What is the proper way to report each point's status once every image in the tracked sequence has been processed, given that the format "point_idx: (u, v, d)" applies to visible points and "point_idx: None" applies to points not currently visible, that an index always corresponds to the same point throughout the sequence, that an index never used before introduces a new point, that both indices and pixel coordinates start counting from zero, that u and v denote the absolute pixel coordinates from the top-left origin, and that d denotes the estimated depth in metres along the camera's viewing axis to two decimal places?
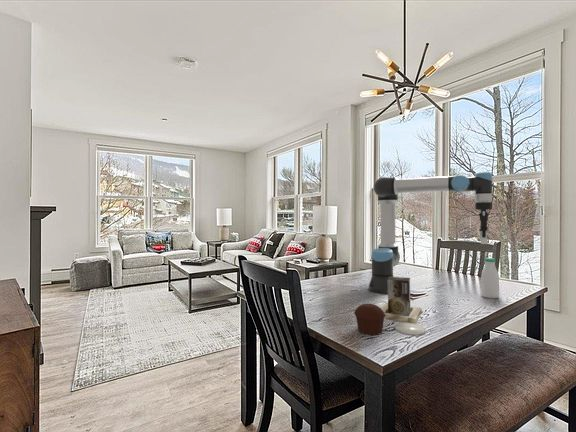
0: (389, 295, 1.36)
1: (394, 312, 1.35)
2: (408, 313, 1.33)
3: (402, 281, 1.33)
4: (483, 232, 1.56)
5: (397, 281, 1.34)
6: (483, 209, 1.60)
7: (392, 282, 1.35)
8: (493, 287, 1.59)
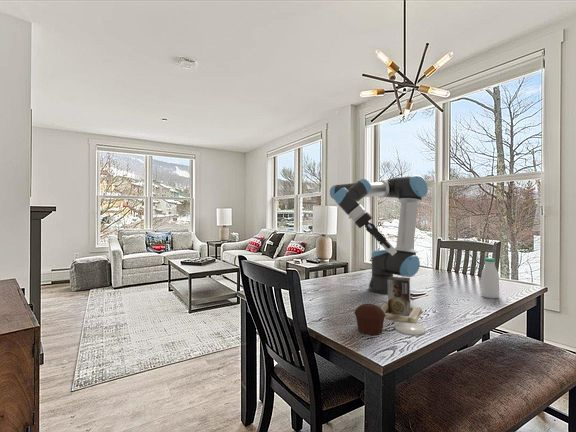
0: (389, 295, 1.36)
1: (394, 312, 1.35)
2: (408, 313, 1.33)
3: (402, 281, 1.33)
4: None
5: (397, 281, 1.34)
6: None
7: (392, 282, 1.35)
8: (493, 287, 1.59)
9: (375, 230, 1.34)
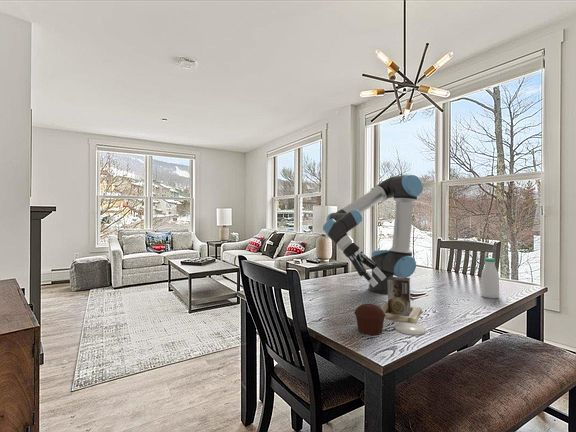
0: (389, 295, 1.36)
1: (394, 312, 1.35)
2: (408, 313, 1.33)
3: (402, 281, 1.33)
4: None
5: (397, 281, 1.34)
6: None
7: (392, 282, 1.35)
8: (493, 287, 1.59)
9: (355, 262, 1.38)
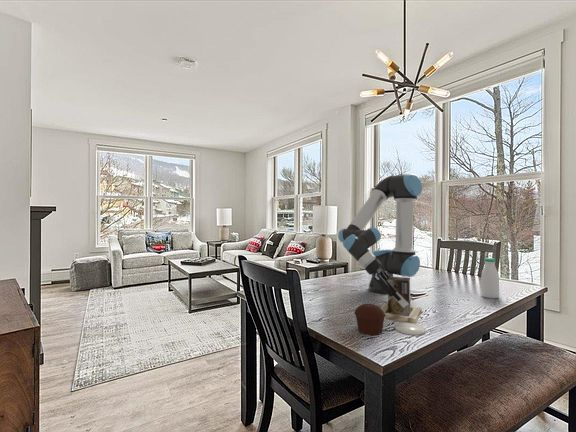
0: None
1: (394, 312, 1.35)
2: (408, 313, 1.32)
3: (402, 281, 1.33)
4: None
5: (397, 281, 1.34)
6: None
7: (392, 282, 1.35)
8: (493, 287, 1.59)
9: (383, 282, 1.34)
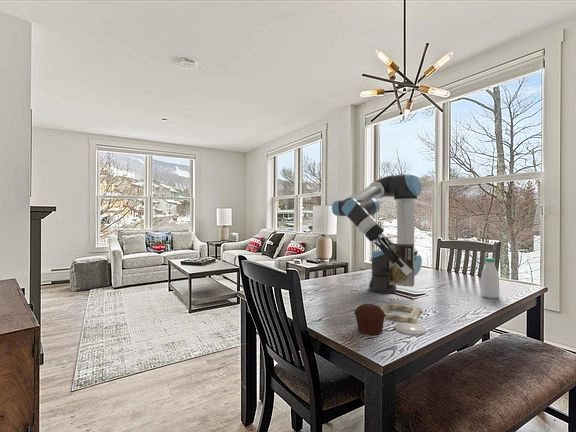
0: None
1: (396, 280, 1.23)
2: (411, 281, 1.20)
3: (405, 246, 1.21)
4: None
5: (400, 246, 1.22)
6: None
7: (394, 247, 1.23)
8: (493, 287, 1.59)
9: (384, 247, 1.22)
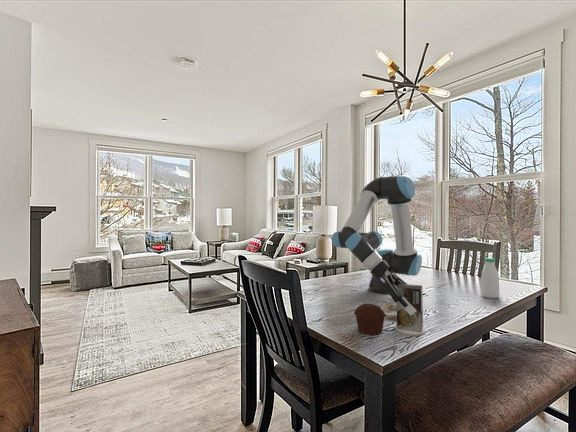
0: (398, 305, 1.19)
1: (403, 324, 1.19)
2: (420, 326, 1.16)
3: (413, 289, 1.17)
4: None
5: (407, 289, 1.18)
6: None
7: (401, 290, 1.19)
8: (493, 287, 1.59)
9: (388, 285, 1.17)
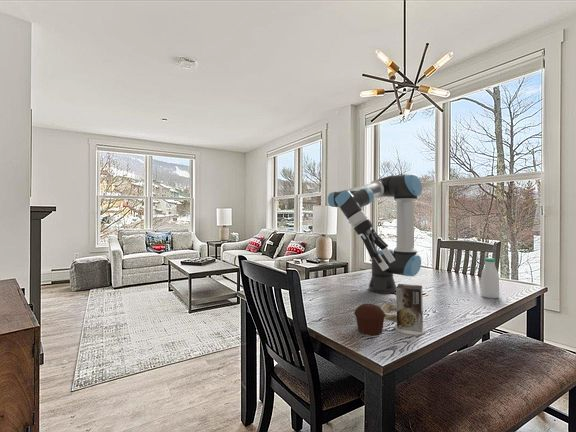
0: (398, 305, 1.19)
1: (403, 324, 1.19)
2: (420, 326, 1.16)
3: (413, 290, 1.17)
4: None
5: (407, 290, 1.18)
6: None
7: (401, 290, 1.18)
8: (493, 287, 1.59)
9: (368, 242, 1.26)
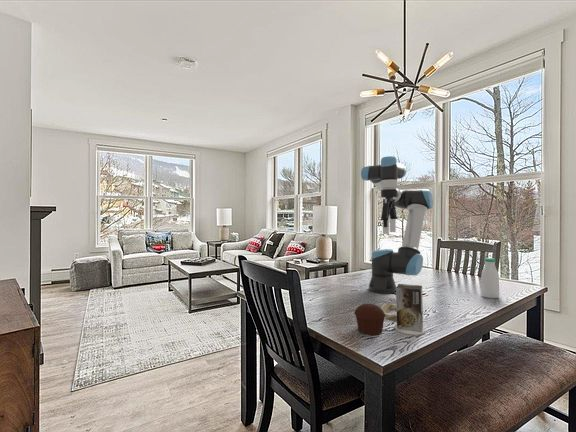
0: (398, 305, 1.19)
1: (403, 324, 1.19)
2: (420, 326, 1.16)
3: (413, 290, 1.17)
4: None
5: (407, 290, 1.18)
6: None
7: (401, 290, 1.18)
8: (493, 287, 1.59)
9: (386, 207, 1.44)
